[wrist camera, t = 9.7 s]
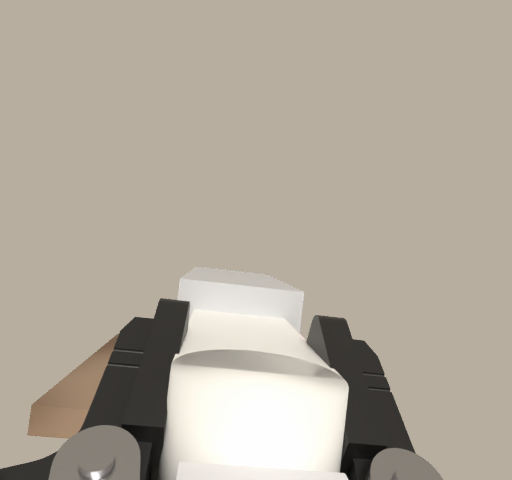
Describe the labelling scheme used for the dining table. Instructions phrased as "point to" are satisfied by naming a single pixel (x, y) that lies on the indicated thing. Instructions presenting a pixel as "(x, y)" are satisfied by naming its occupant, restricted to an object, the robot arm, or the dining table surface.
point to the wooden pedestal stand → (70, 398)
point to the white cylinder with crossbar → (250, 387)
